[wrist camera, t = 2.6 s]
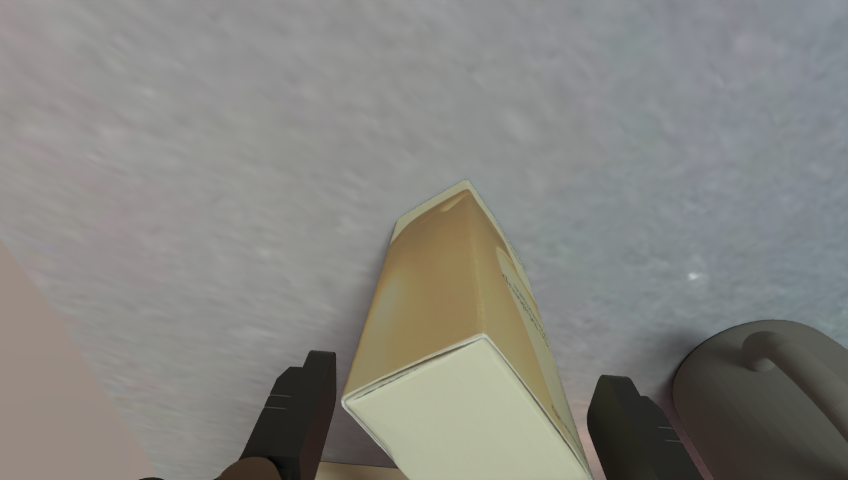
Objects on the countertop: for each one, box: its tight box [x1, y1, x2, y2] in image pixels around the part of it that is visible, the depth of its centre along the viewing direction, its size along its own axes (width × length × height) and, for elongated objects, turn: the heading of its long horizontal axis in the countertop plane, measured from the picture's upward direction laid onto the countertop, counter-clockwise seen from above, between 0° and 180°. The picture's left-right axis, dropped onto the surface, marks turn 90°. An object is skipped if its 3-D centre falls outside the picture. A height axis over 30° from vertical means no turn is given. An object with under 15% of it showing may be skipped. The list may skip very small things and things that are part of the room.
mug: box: [672, 320, 848, 480], centre depth 19 cm, size 14×9×12 cm
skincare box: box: [341, 180, 594, 480], centre depth 16 cm, size 6×4×12 cm
